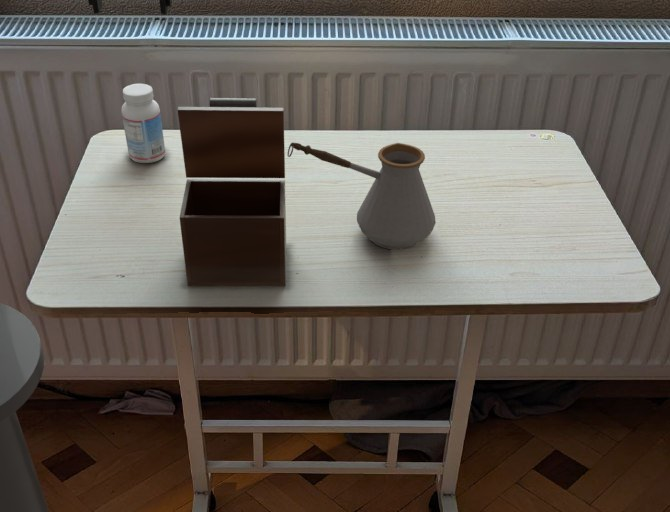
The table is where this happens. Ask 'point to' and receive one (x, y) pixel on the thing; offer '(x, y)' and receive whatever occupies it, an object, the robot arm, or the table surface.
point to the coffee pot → (390, 196)
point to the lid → (232, 140)
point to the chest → (234, 232)
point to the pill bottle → (142, 124)
